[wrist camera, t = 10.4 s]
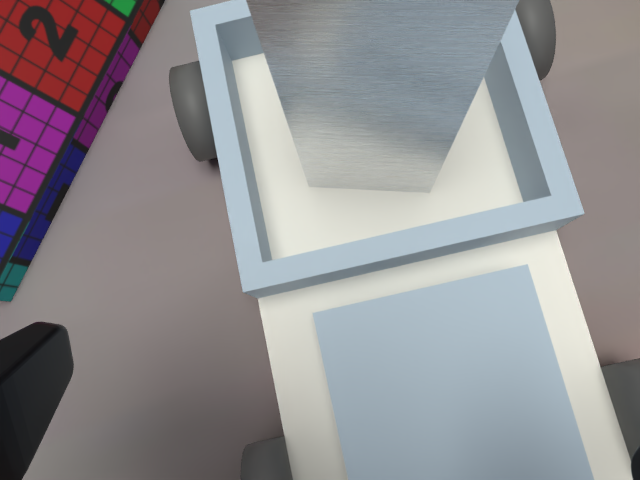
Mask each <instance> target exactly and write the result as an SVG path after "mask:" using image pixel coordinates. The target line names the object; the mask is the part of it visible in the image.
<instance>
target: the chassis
mask: <svg viewBox="0 0 640 480" xmlns="http://www.w3.org/2000/svg"><path fill="white" fill-rule="evenodd" d="M190 14H191V19H192V24H193V30H194V35H195V40H196V46H197V51H198V56H199V61H196V62H192V63H188V64H184V65H180V66H176V67H172V68H171V69H170V73H169V84H170V92H171V97H172V102H173V106H174V110H175V114H176V117H177V120H178V123H179V126H180V129H181V132H182V134H183V137H184V139H185V142H186V144H187V146H188V148H189V150H190V151H191V153H192V155H193V156H194V157H195V159H196V160H197V161H200V162H201V161H205V160H209V159H213V158H218V162H219V168H220V173H221V178H222V184H223V189H224V194H225V200H226V205H227V210H228V216H229V221H230V226H231V231H232V237H233V242H234V247H235V253H236V258H237V263H238V269H239V274H240V279H241V285H242V290H243V293H246V294H248V295H251V296H253V297H256V298H258V302H259V307H260V312H261V318H262V323H263V328H264V333H265V338H266V343H267V349H268V354H269V359H270V364H271V369H272V374H273V380H274V385H275V390H276V395H277V400H278V405H279V410H280V416H281V421H282V426H283V431H284V436H285V437H279V438H274V439H270V440H265V441H261V442H256V443H251V444H248V445H246V447H245V449H244V451H243V455H242V462H241V480H633V478H632V473H631V460H632V456H633V454H634V452H635V451H636V450H637V448H638V447H639V445H640V358H639V359H634V360H630V361H625V362H621V363H616V364H611V365H607V366H603V367H602V368H601V367H600V364H599V361H598V358H597V355H596V352H595V349H594V346H593V343H592V340H591V336H590V333H589V330H588V327H587V324H586V321H585V318H584V315H583V312H582V309H581V306H580V303H579V300H578V296H577V293H576V290H575V287H574V284H573V281H572V278H571V275H570V272H569V269H568V266H567V263H566V259H565V256H564V253H563V250H562V247H561V244H560V241H559V238H558V235H557V232H556V230H557V229H559V228H560V227H562V226H564V225H566V224H568V223H569V222H571V221H573V220H575V219H576V218H578V217H580V216H582V215H583V214H584V211H583V208H582V205H581V202H580V199H579V196H578V193H577V190H576V187H575V184H574V181H573V178H572V175H571V172H570V169H569V166H568V163H567V160H566V158H565V155H564V152H563V149H562V146H561V143H560V140H559V137H558V134H557V131H556V128H555V125H554V122H553V119H552V116H551V113H550V110H549V107H548V104H547V102H546V99H545V96H544V93H543V90H542V87H541V84H540V81H539V80H542V79H543V78H545V77H546V75H547V74H548V72H549V71H550V68H551V66H552V63H553V59H554V54H555V45H556V29H555V20H554V14H553V10H552V6H551V3H550V0H519V2H518V4H517V6H516V9H515V11H514V13H513V15H512V17H511V19H510V21H509V24H508V26H507V28H506V30H505V32H504V34H503V37H502V39H501V41H500V43H499V45H498V47H497V49H496V52H495V54H494V56H493V58H492V60H491V62H490V64H489V67H488V69H487V71H486V73H485V75H484V77H483V80H482V82H481V84H480V86H479V88H478V90H477V92H476V95H475V97H474V99H473V101H472V103H471V105H470V107H469V110H468V112H467V114H466V116H465V118H464V120H463V122H462V125H461V127H460V129H459V131H458V133H457V135H456V138H455V140H454V142H453V144H452V146H451V148H450V150H449V153H448V155H447V157H446V159H445V161H444V163H443V165H442V168H441V170H440V172H439V174H438V176H437V178H436V181H435V183H434V185H433V187H432V189H431V191H430V193H421V192H401V191H381V190H361V189H342V188H322V187H309V185H308V182H307V180H306V177H305V174H304V171H303V168H302V165H301V162H300V159H299V156H298V153H297V150H296V147H295V144H294V141H293V138H292V135H291V132H290V129H289V126H288V123H287V120H286V117H285V114H284V111H283V108H282V105H281V102H280V99H279V97H278V94H277V91H276V88H275V85H274V82H273V79H272V76H271V73H270V70H269V67H268V64H267V61H266V58H265V55H264V52H263V49H262V46H261V43H260V40H259V37H258V34H257V31H256V28H255V25H254V22H253V19H252V16H251V14H250V11H249V8H248V5H247V2H246V0H231V1H227V2H223V3H219V4H215V5H211V6H207V7H203V8H199V9H195V10H191V11H190Z"/></svg>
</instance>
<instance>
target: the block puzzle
mask: <svg viewBox="0 0 640 480" xmlns="http://www.w3.org/2000/svg"><path fill="white" fill-rule="evenodd" d="M164 1H165V0H0V301H9V302H11V300H12V298H13V296H14V294H15V292H16V290H17V288H18V286H19V284H20V282H21V281H22V279H23V277H24V275H25V273H26V271H27V269H28V267H29V265H30V263H31V261H32V259H33V257H34V255H35V253H36V251H37V249H38V247H39V245H40V243H41V241H42V239H43V238H44V236H45V234H46V232H47V230H48V228H49V226H50V224H51V222H52V220H53V218H54V216H55V214H56V212H57V210H58V208H59V206H60V204H61V202H62V200H63V198H64V196H65V195H66V193H67V191H68V189H69V187H70V185H71V183H72V181H73V179H74V177H75V175H76V173H77V171H78V169H79V167H80V165H81V163H82V161H83V159H84V157H85V155H86V153H87V152H88V150H89V148H90V146H91V144H92V142H93V140H94V138H95V136H96V134H97V132H98V130H99V128H100V126H101V124H102V122H103V120H104V118H105V116H106V114H107V112H108V110H109V109H110V107H111V105H112V103H113V101H114V99H115V97H116V95H117V93H118V91H119V89H120V87H121V85H122V83H123V81H124V79H125V77H126V75H127V73H128V71H129V69H130V67H131V66H132V64H133V62H134V60H135V58H136V56H137V54H138V52H139V50H140V48H141V46H142V44H143V42H144V40H145V38H146V36H147V34H148V32H149V30H150V28H151V26H152V24H153V23H154V21H155V19H156V17H157V15H158V13H159V11H160V9H161V7H162V5H163V3H164Z"/></svg>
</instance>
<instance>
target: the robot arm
mask: <svg viewBox="0 0 640 480" xmlns="http://www.w3.org/2000/svg"><path fill="white" fill-rule="evenodd" d="M73 367H74V364H73V357H72V352H71V346H70V341H69V336H68V331H67V329H66V328H65V327H64V326H62V325H59V324H53V323H47V322H35V323H33V324H31V325H29V326H27V327H25V328H23V329H21V330H19V331H17V332H15V333H13V334H11V335H9V336H7V337H5V338H3V339H1V340H0V480H22V478H23V476H24V475H25V473H26V471H27V469H28V467H29V465H30V463H31V461H32V459H33V457H34V455H35V453H36V451H37V449H38V447H39V445H40V443H41V441H42V439H43V436H44V434H45V432H46V430H47V428H48V426H49V424H50V422H51V420H52V417H53V415H54V413H55V411H56V409H57V407H58V405H59V403H60V401H61V398H62V396H63V394H64V392H65V390H66V388H67V386H68V384H69V382H70V379H71V377H72V373H73ZM631 473H632V478H633V480H640V445H639V447H638V448H637V450H636V451H635V452H634V454H633V456H632V460H631Z"/></svg>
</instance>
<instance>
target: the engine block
mask: <svg viewBox="0 0 640 480" xmlns="http://www.w3.org/2000/svg"><path fill="white" fill-rule="evenodd" d="M246 2H247V5H248V8H249V11H250V14H251V16H252V19H253V22H254V25H255V28H256V31H257V34H258V37H259V40H260V43H261V46H262V49H263V52H264V55H265V58H266V61H267V64H268V67H269V70H270V73H271V76H272V79H273V82H274V85H275V88H276V91H277V94H278V97H279V99H280V102H281V105H282V108H283V111H284V114H285V117H286V120H287V123H288V126H289V129H290V132H291V135H292V138H293V141H294V144H295V147H296V150H297V153H298V156H299V159H300V162H301V165H302V168H303V171H304V174H305V177H306V180H307V182H308V185H309V187H322V188H342V189H361V190H381V191H401V192H421V193H430V191H431V189H432V187H433V185H434V183H435V181H436V178H437V176H438V174H439V172H440V170H441V168H442V165H443V163H444V161H445V159H446V157H447V155H448V153H449V150H450V148H451V146H452V144H453V142H454V140H455V138H456V135H457V133H458V131H459V129H460V127H461V125H462V122H463V120H464V118H465V116H466V114H467V112H468V110H469V107H470V105H471V103H472V101H473V99H474V97H475V95H476V92H477V90H478V88H479V86H480V84H481V82H482V80H483V77H484V75H485V73H486V71H487V69H488V67H489V64H490V62H491V60H492V58H493V56H494V54H495V52H496V49H497V47H498V45H499V43H500V41H501V39H502V37H503V34H504V32H505V30H506V28H507V26H508V24H509V21H510V19H511V17H512V15H513V13H514V11H515V9H516V6H517V4H518V2H519V0H246Z"/></svg>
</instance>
